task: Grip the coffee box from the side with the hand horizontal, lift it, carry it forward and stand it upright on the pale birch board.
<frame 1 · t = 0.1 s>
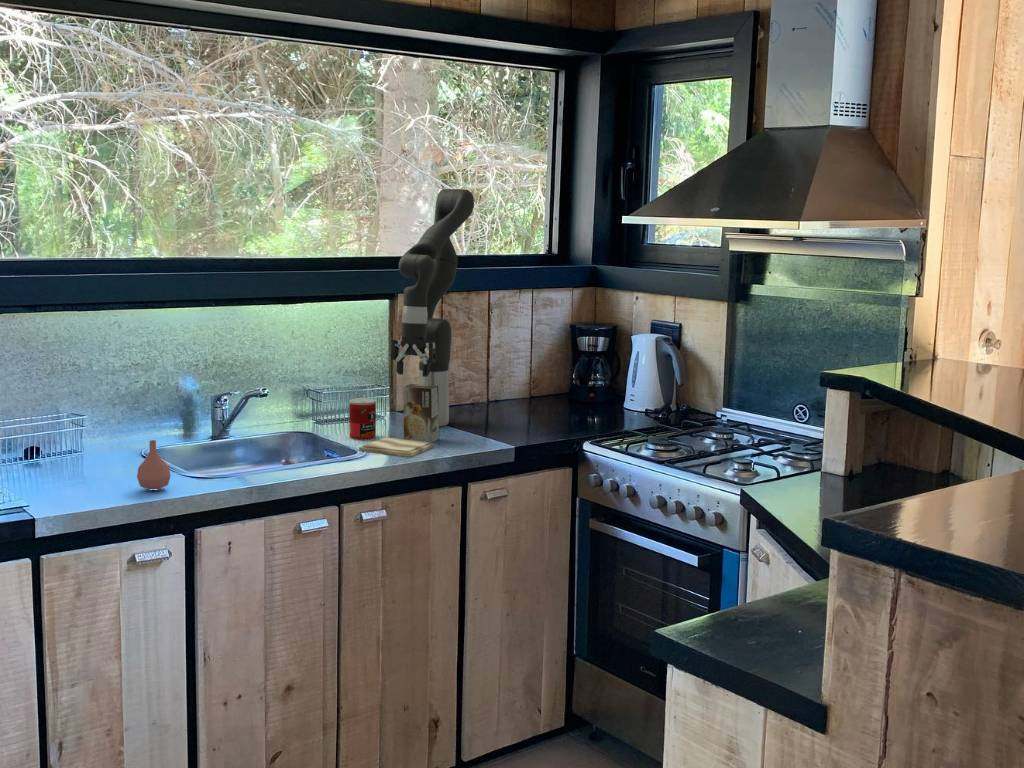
hand: (412, 375, 336), 17 cm above the worktop, tool pointing down, fingers open, 8 cm apart
canned food: (362, 437, 330), on the worktop
coffee box: (421, 440, 328), on the worktop
birch stand: (396, 449, 315), on the worktop
terracotta vase: (154, 490, 267), on the worktop
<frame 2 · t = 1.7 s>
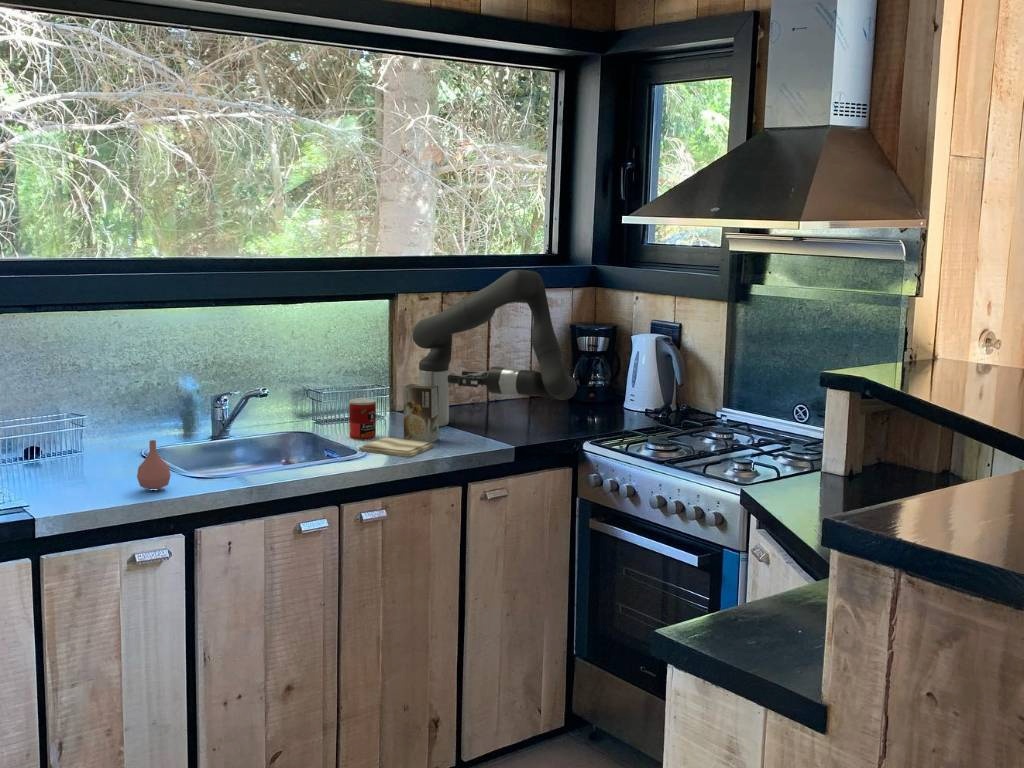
hand: (455, 376, 320), 20 cm above the worktop, tool horizontal, fingers open, 8 cm apart
nothing on the worktop moved.
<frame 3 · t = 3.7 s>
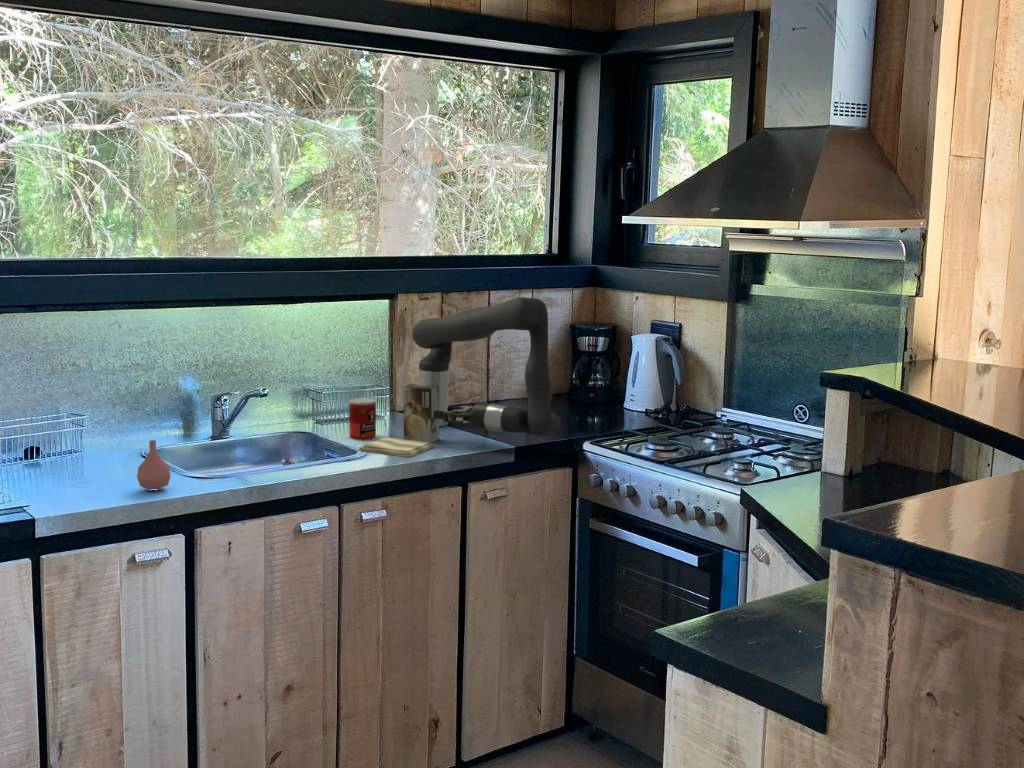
hand: (440, 411, 324), 9 cm above the worktop, tool horizontal, fingers open, 8 cm apart
nothing on the worktop moved.
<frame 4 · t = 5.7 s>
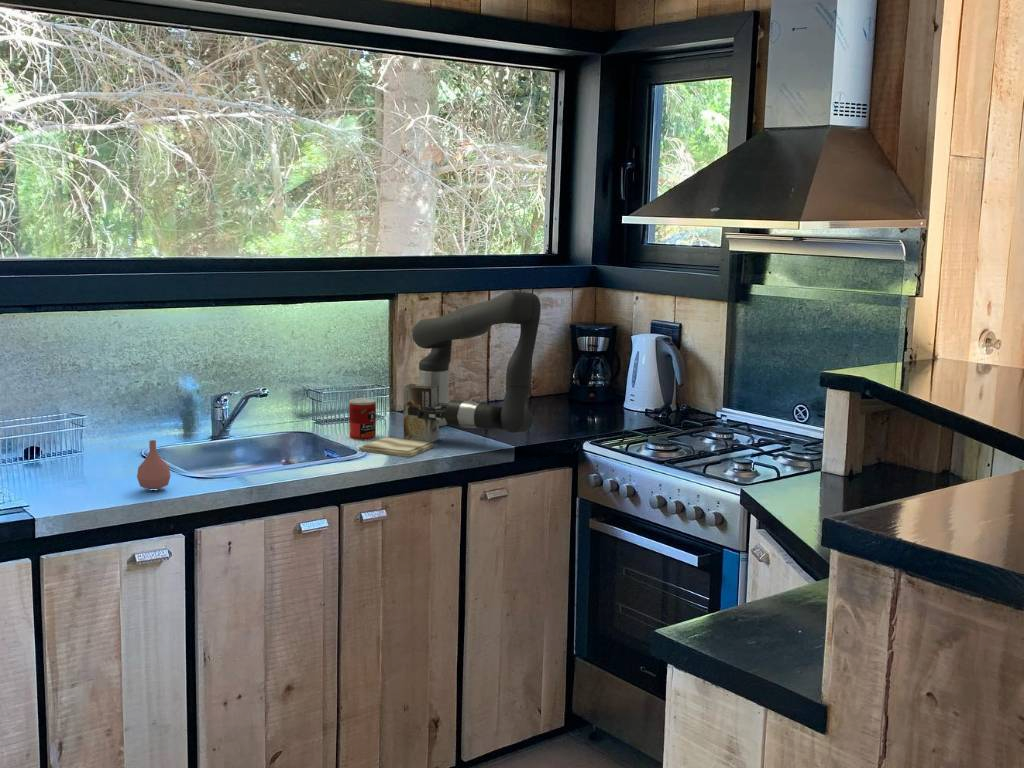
hand: (414, 408, 327), 9 cm above the worktop, tool horizontal, fingers closed on coffee box, 7 cm apart
coffee box: (421, 440, 328), on the worktop, touching gripper
everything else where it was.
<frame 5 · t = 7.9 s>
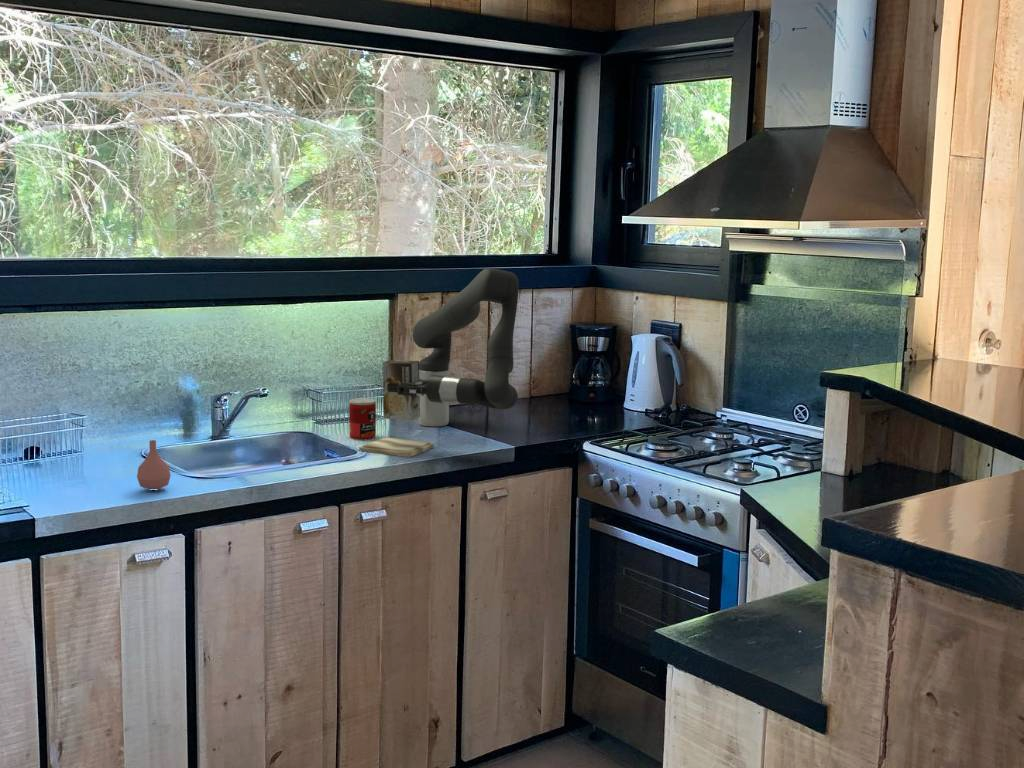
hand: (394, 385, 314), 18 cm above the worktop, tool horizontal, fingers closed on coffee box, 7 cm apart
coffee box: (402, 418, 315), point 9 cm above the worktop, touching gripper
everything else where it was.
when the fingers open (11 cm above the worktop, at t = 10.2 s): coffee box stays where it is, resting on birch stand.
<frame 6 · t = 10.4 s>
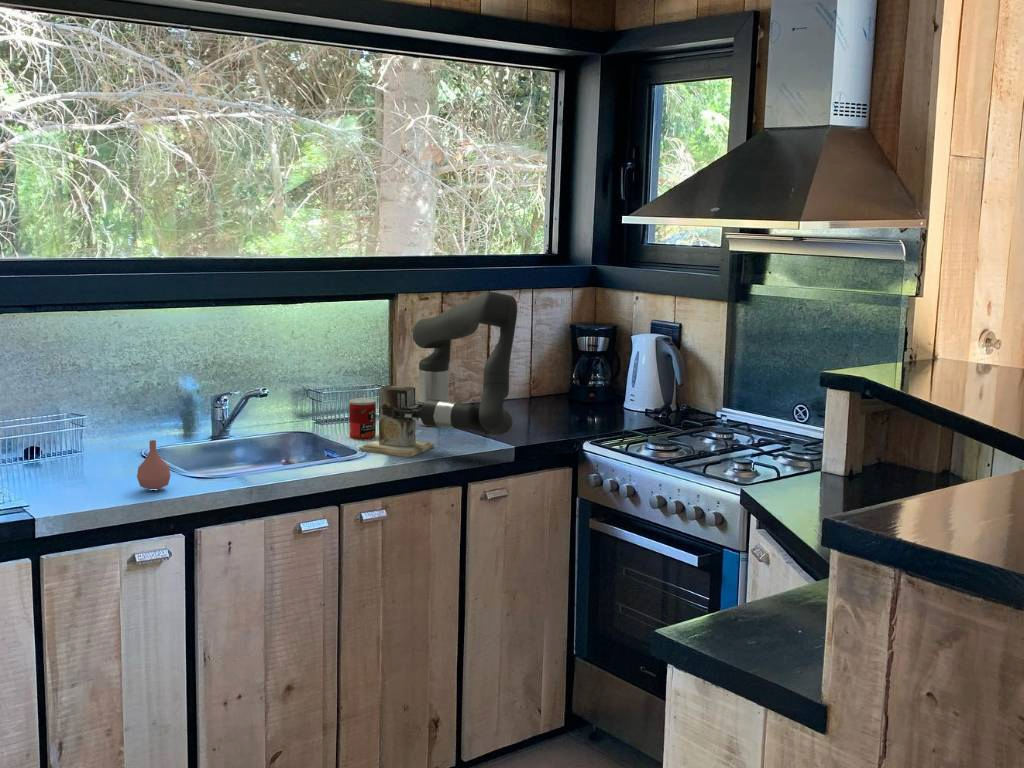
hand: (390, 408, 314), 11 cm above the worktop, tool horizontal, fingers open, 8 cm apart
coffee box: (397, 444, 315), point 1 cm above the worktop, touching birch stand
everything else where it was.
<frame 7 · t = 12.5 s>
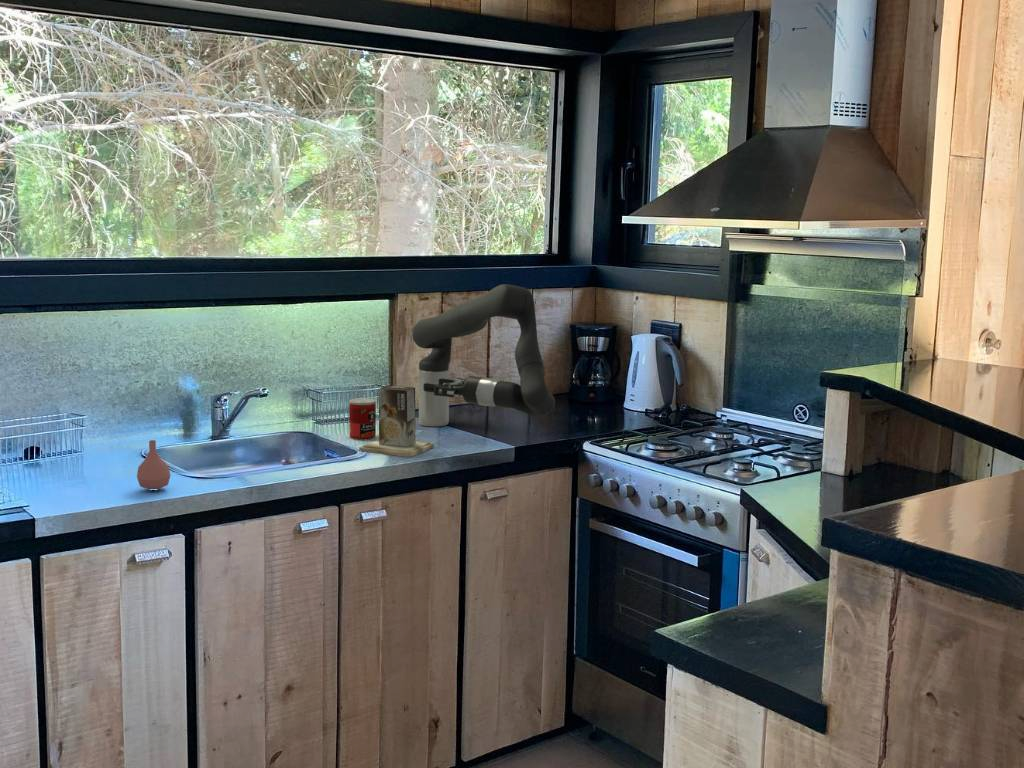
hand: (431, 384, 311), 19 cm above the worktop, tool horizontal, fingers open, 8 cm apart
nothing on the worktop moved.
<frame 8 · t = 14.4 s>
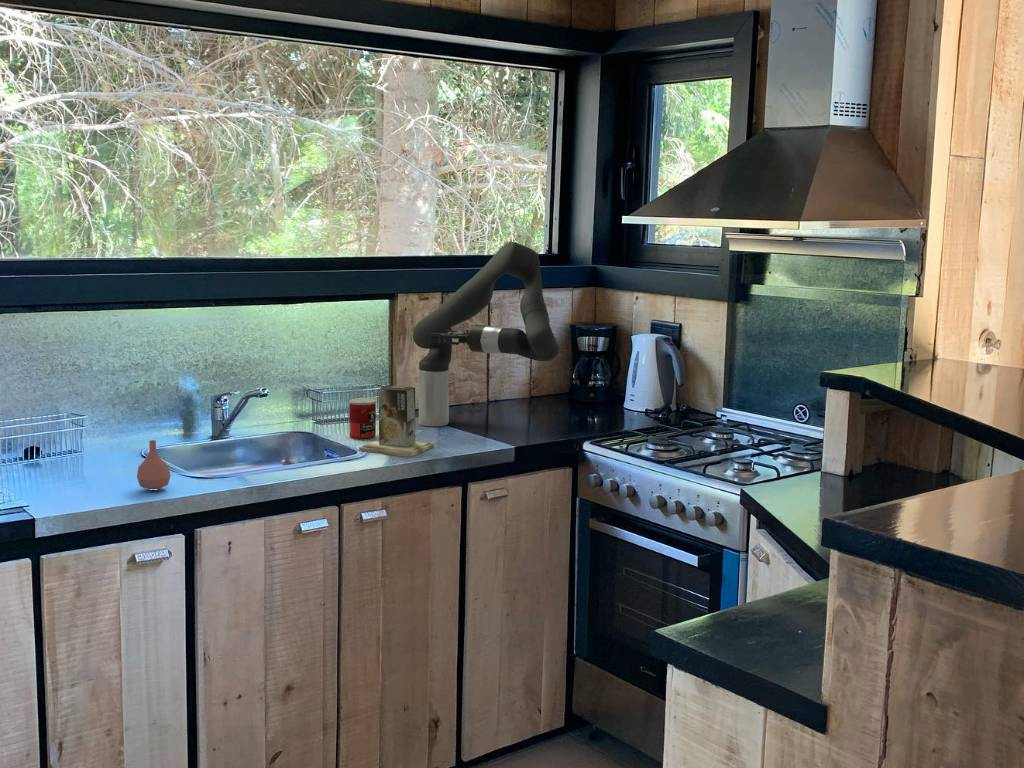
hand: (436, 335, 314), 32 cm above the worktop, tool horizontal, fingers open, 8 cm apart
nothing on the worktop moved.
at the end: coffee box inside the target area on the birch stand (0.1 cm from its centre), point 1.3 cm above the birch stand's base; coffee box tilted 0°; the gripper is holding nothing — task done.
